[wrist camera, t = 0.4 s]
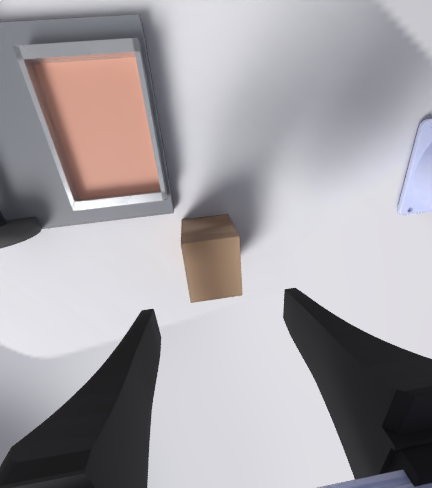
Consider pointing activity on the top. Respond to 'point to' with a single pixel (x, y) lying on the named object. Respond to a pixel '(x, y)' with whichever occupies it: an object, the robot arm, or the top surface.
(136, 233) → the top surface
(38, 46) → the chassis
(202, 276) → the block
